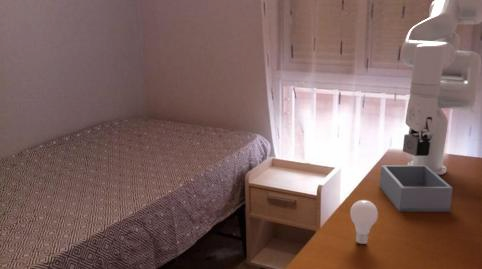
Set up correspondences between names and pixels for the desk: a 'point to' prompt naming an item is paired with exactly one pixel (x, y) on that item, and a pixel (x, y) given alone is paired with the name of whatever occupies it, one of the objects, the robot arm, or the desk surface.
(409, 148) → the dice cube
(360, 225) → the lightbulb
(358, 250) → the desk surface
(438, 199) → the box
